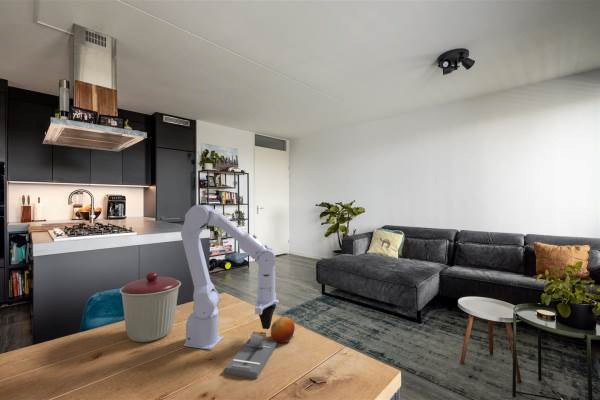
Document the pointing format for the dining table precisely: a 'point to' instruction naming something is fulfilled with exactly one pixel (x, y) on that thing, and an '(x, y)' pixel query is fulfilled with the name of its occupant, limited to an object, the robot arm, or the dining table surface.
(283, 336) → the fruit
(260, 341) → the fader cap
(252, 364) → the board
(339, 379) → the dining table surface
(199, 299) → the robot arm
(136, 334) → the canister
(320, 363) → the dining table surface
